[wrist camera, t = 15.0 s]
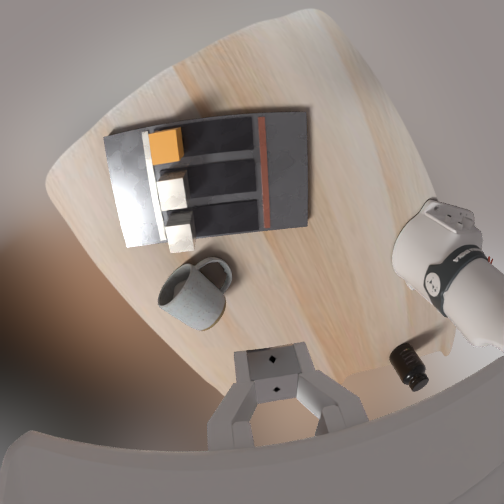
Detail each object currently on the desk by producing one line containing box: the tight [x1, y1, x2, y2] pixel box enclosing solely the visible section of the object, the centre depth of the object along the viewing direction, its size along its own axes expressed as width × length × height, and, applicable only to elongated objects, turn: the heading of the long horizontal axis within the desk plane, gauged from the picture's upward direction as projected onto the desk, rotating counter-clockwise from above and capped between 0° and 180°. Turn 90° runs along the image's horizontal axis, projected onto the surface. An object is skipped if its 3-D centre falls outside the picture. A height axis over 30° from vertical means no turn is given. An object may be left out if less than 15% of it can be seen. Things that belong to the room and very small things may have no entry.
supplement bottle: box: [390, 344, 429, 392], centre depth 56 cm, size 7×7×12 cm
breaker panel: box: [103, 112, 308, 253], centre depth 33 cm, size 26×16×6 cm, turn 94°
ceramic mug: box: [158, 257, 232, 331], centre depth 40 cm, size 11×8×8 cm
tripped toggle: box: [148, 127, 184, 165], centre depth 29 cm, size 3×4×4 cm
